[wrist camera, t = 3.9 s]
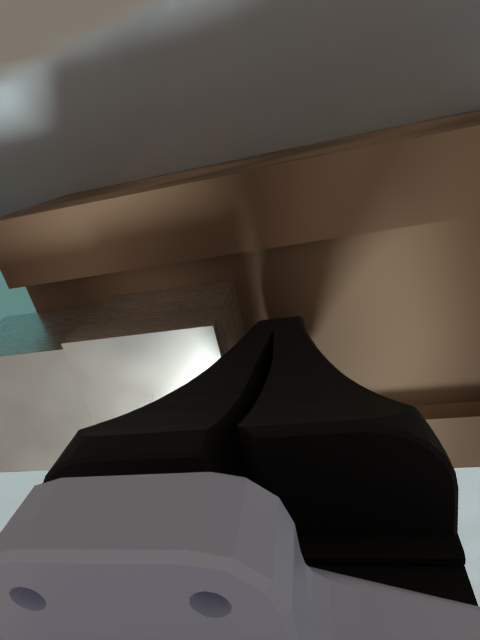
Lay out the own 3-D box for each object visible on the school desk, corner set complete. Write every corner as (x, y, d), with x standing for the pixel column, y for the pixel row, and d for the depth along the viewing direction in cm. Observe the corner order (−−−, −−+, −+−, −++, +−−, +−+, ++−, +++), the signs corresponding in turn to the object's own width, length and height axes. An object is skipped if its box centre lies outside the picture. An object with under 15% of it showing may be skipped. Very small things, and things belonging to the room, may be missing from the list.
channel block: (492, 107, 13) (580, 104, 9) (480, 378, 17) (536, 464, 13) (64, 195, 16) (-21, 224, 12) (141, 405, 20) (97, 480, 16)
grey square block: (233, 279, 12) (213, 325, 10) (257, 391, 14) (246, 456, 11) (110, 296, 13) (60, 343, 10) (147, 400, 15) (112, 462, 12)
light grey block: (112, 301, 13) (63, 349, 11) (148, 403, 15) (114, 466, 12) (5, 316, 14) (-65, 364, 11) (50, 411, 16) (-1, 472, 13)
